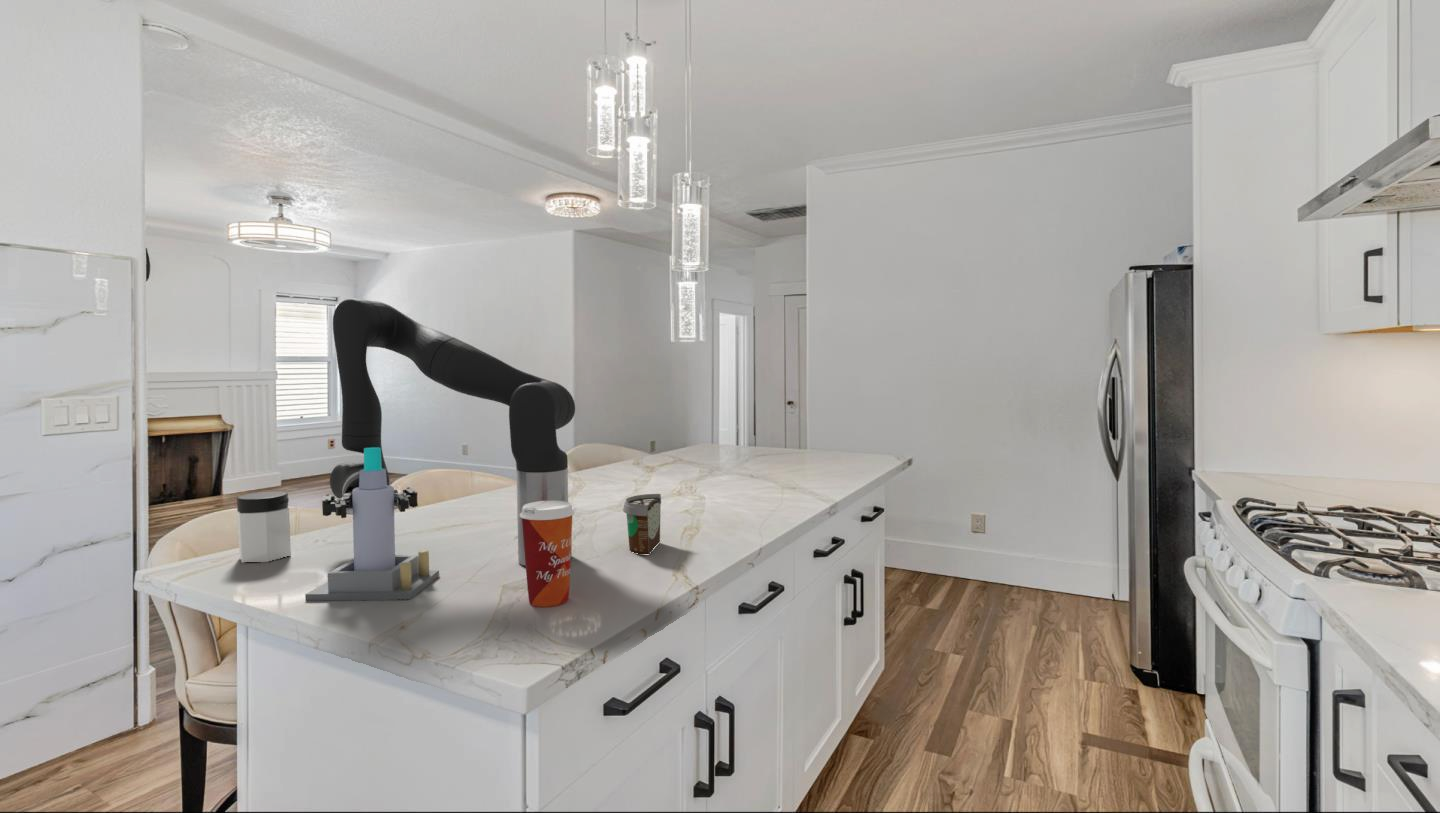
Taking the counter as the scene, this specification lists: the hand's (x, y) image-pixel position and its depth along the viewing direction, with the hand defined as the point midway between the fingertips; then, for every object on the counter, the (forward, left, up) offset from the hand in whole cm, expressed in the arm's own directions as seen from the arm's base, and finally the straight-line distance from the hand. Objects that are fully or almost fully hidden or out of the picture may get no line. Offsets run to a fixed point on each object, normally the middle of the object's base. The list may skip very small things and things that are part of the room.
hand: (374, 508), depth 111 cm
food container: (-40, -25, -14) cm, 49 cm away
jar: (+31, -21, -14) cm, 40 cm away
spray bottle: (+1, -2, -13) cm, 13 cm away
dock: (+1, -2, -14) cm, 14 cm away
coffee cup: (-29, +5, -14) cm, 33 cm away
